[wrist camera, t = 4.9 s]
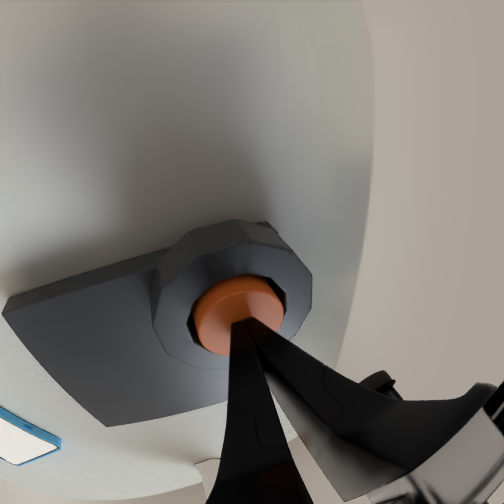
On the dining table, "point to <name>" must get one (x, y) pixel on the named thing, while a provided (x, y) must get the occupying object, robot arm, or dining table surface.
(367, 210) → the dining table surface
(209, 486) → the perfume bottle
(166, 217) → the dining table surface
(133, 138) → the dining table surface
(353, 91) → the dining table surface
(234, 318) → the button
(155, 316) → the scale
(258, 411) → the robot arm
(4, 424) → the smartphone
